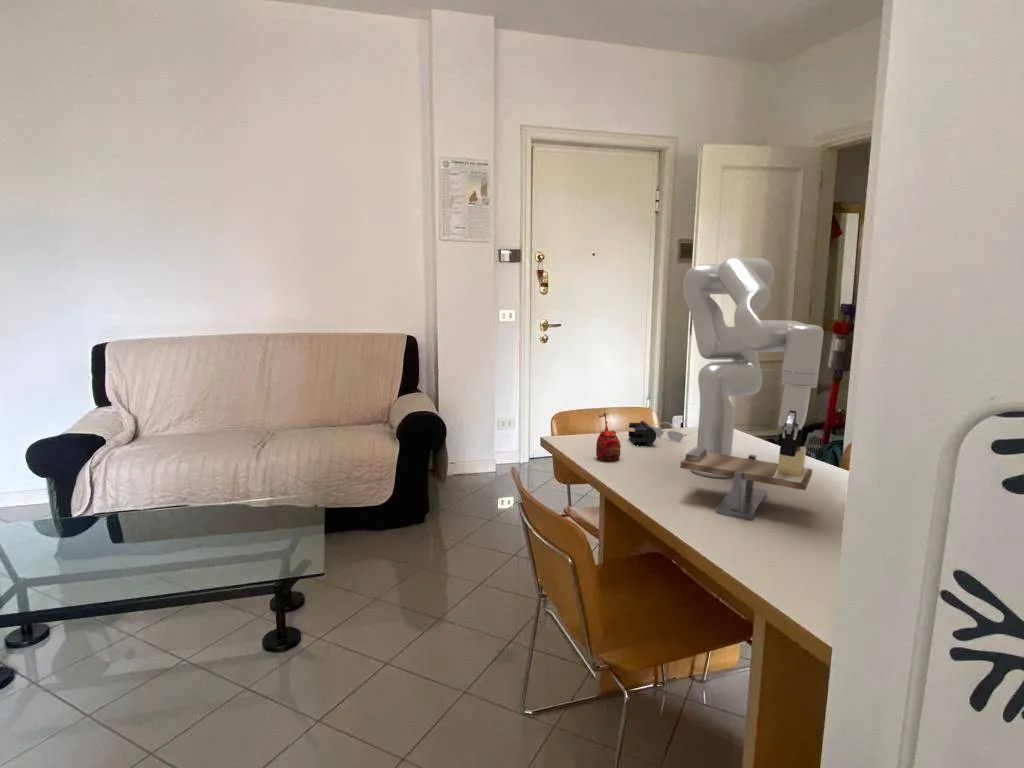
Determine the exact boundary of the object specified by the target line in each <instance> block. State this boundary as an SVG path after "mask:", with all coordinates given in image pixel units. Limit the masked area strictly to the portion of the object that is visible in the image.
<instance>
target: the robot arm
mask: <svg viewBox="0 0 1024 768" xmlns="http://www.w3.org/2000/svg"><path fill="white" fill-rule="evenodd" d="M774 279H775V271H774V268H773V265H772V264H771V262H770V261H768V260H767V259H765V258H762V257H743V256H739V257H738V256H735V257H730V258H727V259H725V260H724V261H722V262H721V263H720V264H718V263H704V264H696V265H694V266H692V267H690V268H689V269H688V270H687V271H686V273H685V275H684V279H683V283H682V285H683V286H682V289H683V290H682V291H683V296H684V300H685V304H686V305H687V308H688V310H689V313H690V315H691V319H692V325H693V330H694V335H695V340H696V345H697V350H698V353H699V354H700V356H701V357H702V358H703V359H706V360H710V361H711V360H713V361H714V360H717V362H711V363H707V364H705V365H703V367H702V368H701V369H700V370H699V371H698V375H697V376H698V377H697V378H698V379H697V380H698V381H697V382H698V383H697V384H698V390H699V391H698V392H699V416H698V427H697V428H698V429H697V431H698V432H697V441H696V442H697V444H696V447H698V448H704V449H707V450H706V452H710V453H716V454H722V455H728V456H733V455H732V454H733V443H734V427H735V417H736V413H735V408H734V406H733V404H732V402H731V401H730V399H729V397H742V396H744V397H745V396H753V395H755V394H757V393H759V391H760V389H762V384H763V374H762V368H761V364H760V359H759V353H783V362H782V369H781V377H780V384H782V385H784V389H783V393H782V397H781V398H782V399H781V406H780V412H779V418H778V425H777V426H778V427H779V428H782V427H783V432H782V436H781V441H780V447H779V453H780V454H781V455H785V456H791V457H795V454H796V446H801V445H802V440H803V439H802V437H803V433H804V430H803V427H804V425H805V423H806V419H807V415H808V410H809V409H808V408H809V403H810V396H811V389H813V388H817V387H818V382H819V381H818V380H819V374H820V373H819V372H820V364H821V357H822V350H823V341H824V336H825V335H824V334H825V333H824V329H823V328H822V326H820V325H815V324H806V323H803V322H800V321H797V320H782V319H781V320H780V319H776V320H775V319H774V320H773V319H772V320H771V319H767V320H766V319H765V320H764V319H763V320H761V319H760V318H759V316H757V314H756V313H758V312H760V311H761V310H763V309H764V308H765V307H766V306H767V305H768V303H769V302H770V300H771V297H772V294H771V290H770V288H769V287H770V286H771V284H772V283H773V281H774ZM711 295H729V297H730V298H731V299H732V301H733V303H734V304H735V305H736V309H735V311H734V321H733V322H734V326H728V325H727V324H726V323H725V320H724V314H723V310H722V308H721V307H720V305H719V304H718V303H717V301H716V300H715V299H714V298H712V297H711ZM719 360H720V361H721V360H724V361H725V360H726V362H723V361H721V362H719ZM728 360H730V361H728ZM731 360H732V362H731ZM727 361H728V362H727ZM801 447H802V446H801ZM690 471H691V472H693V473H695V474H696V475H700V476H704V477H709V478H717V479H718V478H719V479H722V478H730V477H729V476H723V475H718V474H712V473H707V472H701V471H695V470H690Z"/></svg>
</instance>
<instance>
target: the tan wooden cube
mask: <svg viewBox="0 0 1024 768" xmlns="http://www.w3.org/2000/svg"><path fill="white" fill-rule="evenodd" d="M806 451H807V447H806V446H796V454H795V457H791V456H785V455H781V454H780V452H779V455H778V463H777V464H778V474H784V475H790V476H796V477H801V476H802V474H803V472H804V468H805V461H806V454H807V453H806Z"/></svg>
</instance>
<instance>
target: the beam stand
mask: <svg viewBox="0 0 1024 768" xmlns="http://www.w3.org/2000/svg"><path fill="white" fill-rule="evenodd" d="M747 459H753V460H757V455H755V454H749V455H748V458H747ZM742 478H743V472H738V471H735V473H734V477H733V484H732V488H730V490H729V491H728V492H727V494H726V495H725V496H724V497H723V499H722V500H721V501H720V503H719V504H718V505H717V506H716V508H715V513H716V514H720V515H725V516H730V517H735V518H740V519H743V520H749V521H753V519H754V518H755V515H756V514H757V513H758V511H759V509H760V508H761V505H762V504H763V502H764V500H765V499H766V497H767V496H768V490H765V489H760V488H754V486H755V481H751V480H746V482H745V483H746V484H745V486H743V479H742Z"/></svg>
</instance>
